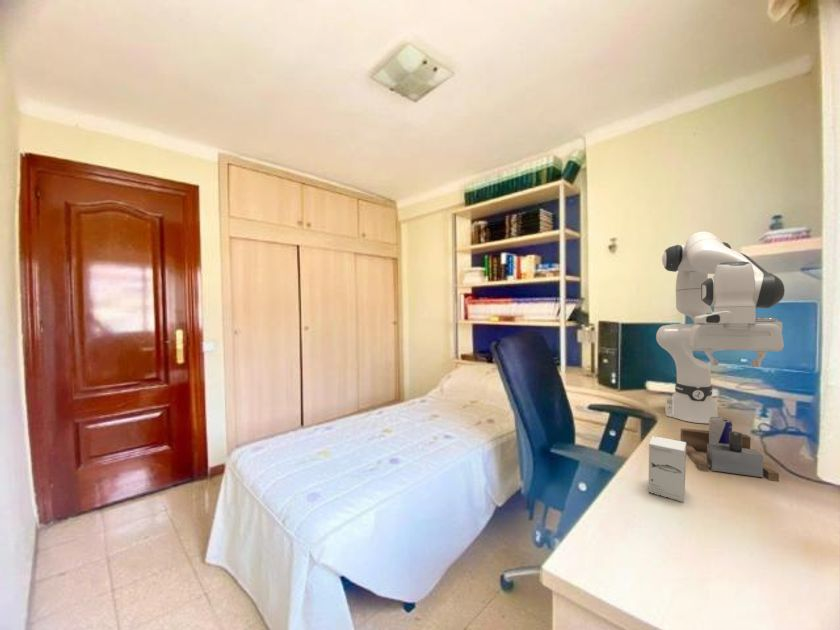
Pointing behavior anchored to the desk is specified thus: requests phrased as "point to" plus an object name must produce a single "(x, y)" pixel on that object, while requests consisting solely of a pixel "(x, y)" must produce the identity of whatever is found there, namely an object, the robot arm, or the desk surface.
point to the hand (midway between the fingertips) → (734, 366)
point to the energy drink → (719, 431)
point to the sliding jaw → (735, 457)
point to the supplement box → (667, 467)
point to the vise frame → (698, 443)
